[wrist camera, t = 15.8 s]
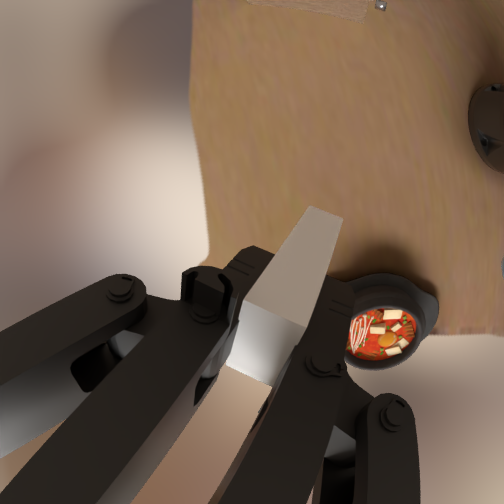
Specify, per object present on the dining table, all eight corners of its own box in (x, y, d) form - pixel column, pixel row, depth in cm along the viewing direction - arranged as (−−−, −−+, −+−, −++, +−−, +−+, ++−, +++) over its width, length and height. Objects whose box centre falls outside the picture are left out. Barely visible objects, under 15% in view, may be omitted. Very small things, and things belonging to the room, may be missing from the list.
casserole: (306, 340, 55) (300, 369, 47) (317, 259, 47) (313, 285, 39) (418, 350, 49) (424, 380, 41) (448, 275, 41) (464, 301, 33)
